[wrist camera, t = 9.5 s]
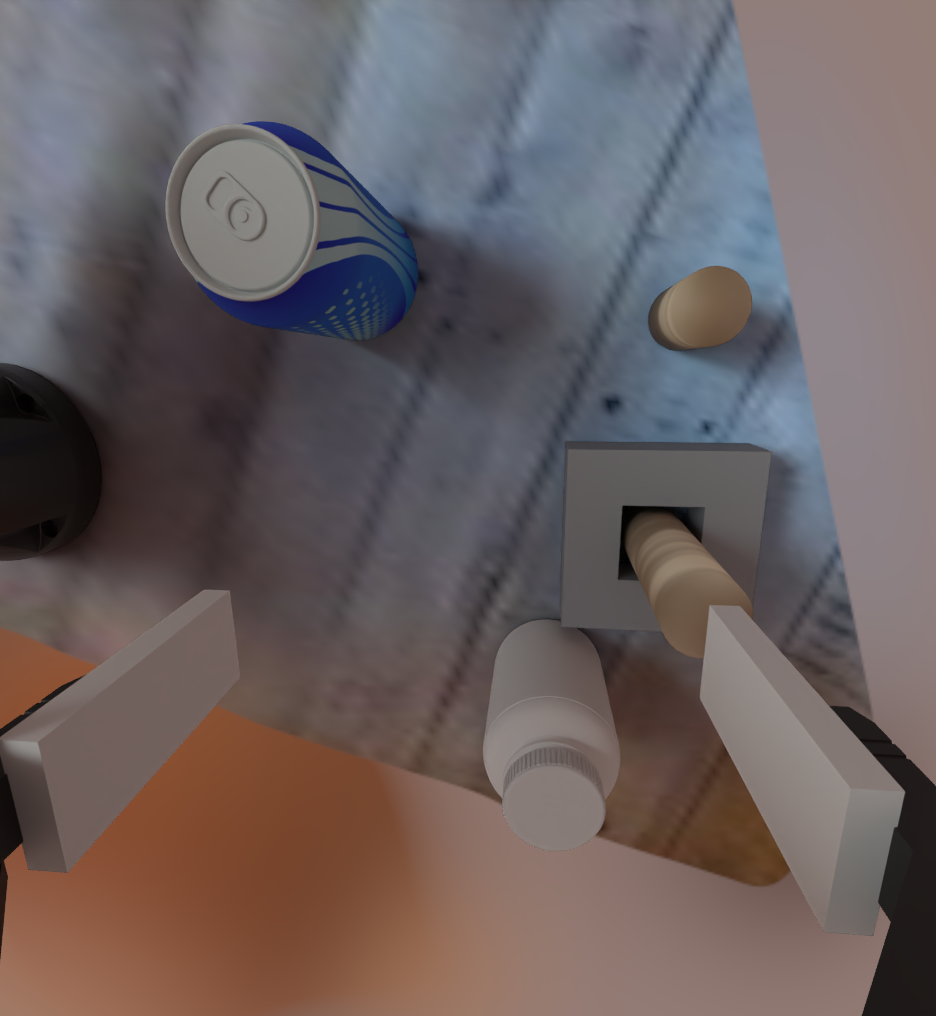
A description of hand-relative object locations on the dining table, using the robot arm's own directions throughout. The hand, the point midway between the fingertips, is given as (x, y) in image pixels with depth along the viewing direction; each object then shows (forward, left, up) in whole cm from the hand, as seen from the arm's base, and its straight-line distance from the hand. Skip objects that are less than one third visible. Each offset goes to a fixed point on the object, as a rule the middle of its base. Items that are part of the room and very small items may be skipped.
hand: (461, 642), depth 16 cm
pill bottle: (+3, -15, -26) cm, 30 cm away
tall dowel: (+10, -4, -26) cm, 28 cm away
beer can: (-10, +13, -26) cm, 31 cm away
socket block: (+10, -4, -26) cm, 28 cm away
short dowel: (+11, +10, -26) cm, 30 cm away
